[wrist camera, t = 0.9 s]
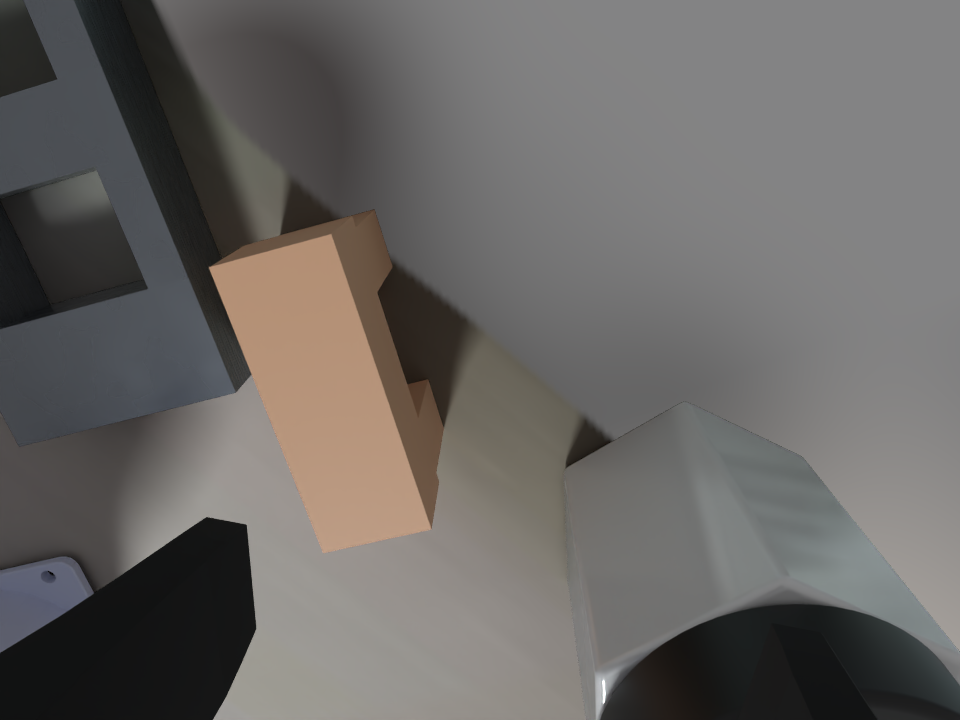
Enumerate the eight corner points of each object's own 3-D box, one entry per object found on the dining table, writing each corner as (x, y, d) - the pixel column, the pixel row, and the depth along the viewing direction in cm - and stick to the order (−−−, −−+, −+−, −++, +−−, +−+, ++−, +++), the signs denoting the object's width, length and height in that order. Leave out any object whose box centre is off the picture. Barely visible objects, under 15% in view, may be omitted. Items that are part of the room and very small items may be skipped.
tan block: (446, 436, 25) (431, 529, 19) (360, 456, 25) (323, 553, 20) (371, 199, 22) (331, 233, 17) (276, 225, 22) (208, 267, 17)
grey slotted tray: (261, 362, 24) (235, 392, 22) (65, 412, 25) (19, 446, 22) (33, -218, 19) (-35, -262, 16) (-207, -131, 19) (-304, -160, 17)
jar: (508, 559, 26) (512, 916, 15) (624, 365, 24) (735, 620, 12) (726, 653, 27) (883, 1050, 16) (860, 478, 25) (1159, 807, 13)
